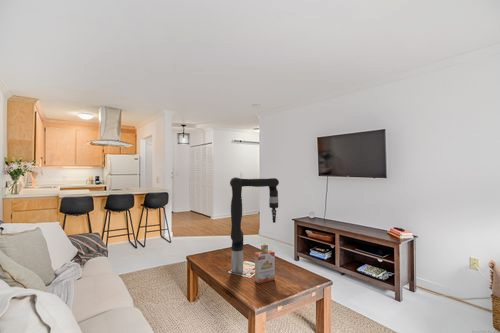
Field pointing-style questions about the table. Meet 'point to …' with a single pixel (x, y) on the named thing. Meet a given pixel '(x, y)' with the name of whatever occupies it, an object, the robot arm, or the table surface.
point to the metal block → (264, 247)
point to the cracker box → (264, 266)
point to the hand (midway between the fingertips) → (274, 221)
